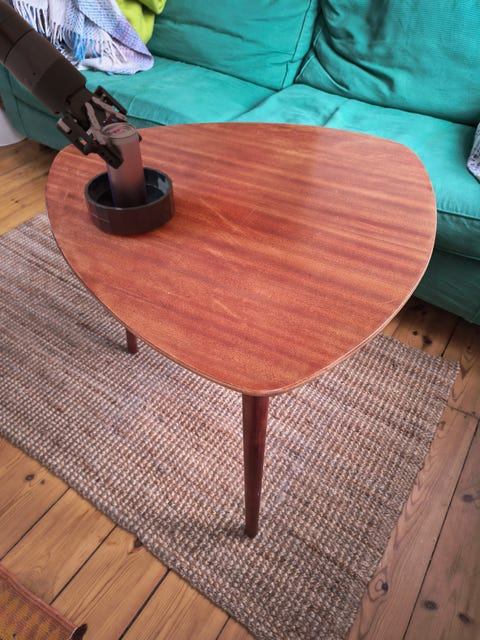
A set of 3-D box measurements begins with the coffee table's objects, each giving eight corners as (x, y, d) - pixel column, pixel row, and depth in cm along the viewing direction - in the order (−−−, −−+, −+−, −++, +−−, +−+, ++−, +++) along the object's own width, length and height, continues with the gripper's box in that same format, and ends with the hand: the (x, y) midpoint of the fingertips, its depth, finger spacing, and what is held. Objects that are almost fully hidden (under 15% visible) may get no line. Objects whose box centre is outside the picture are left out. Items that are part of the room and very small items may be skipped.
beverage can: (109, 211, 85) (91, 129, 74) (135, 199, 88) (122, 118, 78) (129, 224, 82) (114, 140, 72) (155, 211, 85) (144, 129, 75)
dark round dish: (88, 241, 79) (80, 212, 75) (93, 195, 90) (87, 168, 86) (177, 233, 81) (175, 205, 77) (172, 190, 92) (170, 163, 88)
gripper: (34, 70, 63) (127, 159, 70) (79, 42, 73) (157, 122, 80) (11, 107, 68) (101, 187, 74) (56, 76, 78) (132, 149, 84)
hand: (130, 153), depth 77 cm, fingers open, 8 cm apart
